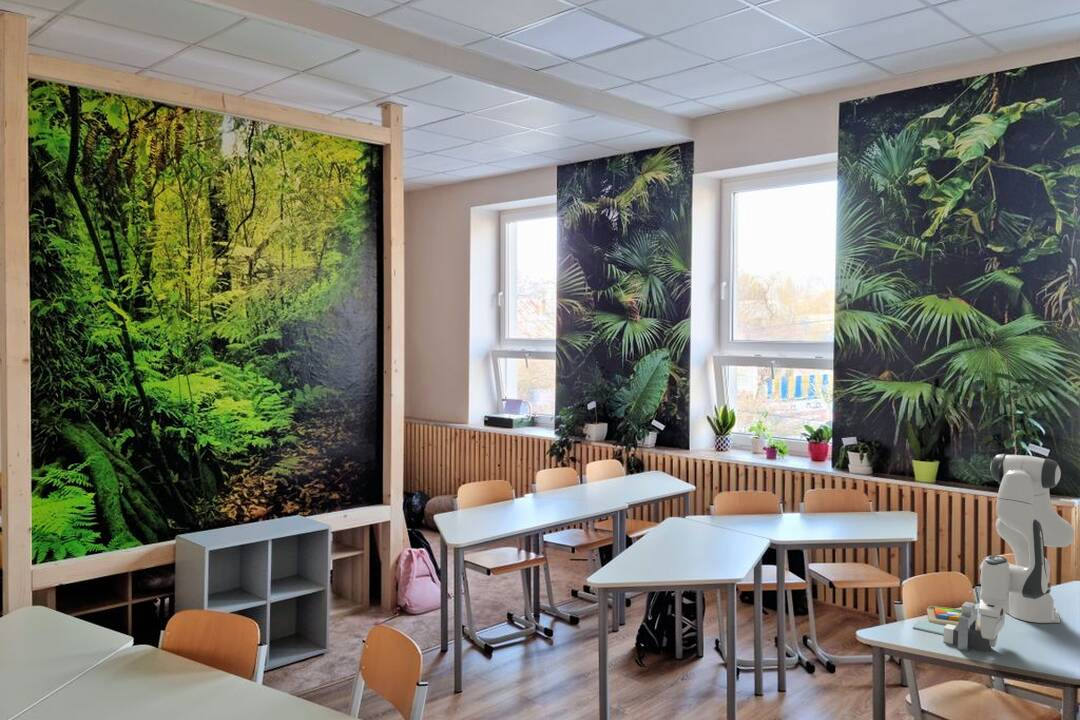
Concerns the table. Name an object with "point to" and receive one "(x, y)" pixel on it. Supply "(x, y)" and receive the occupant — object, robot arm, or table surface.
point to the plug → (974, 638)
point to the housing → (966, 624)
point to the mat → (929, 627)
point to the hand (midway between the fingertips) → (992, 645)
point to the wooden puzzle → (946, 616)
